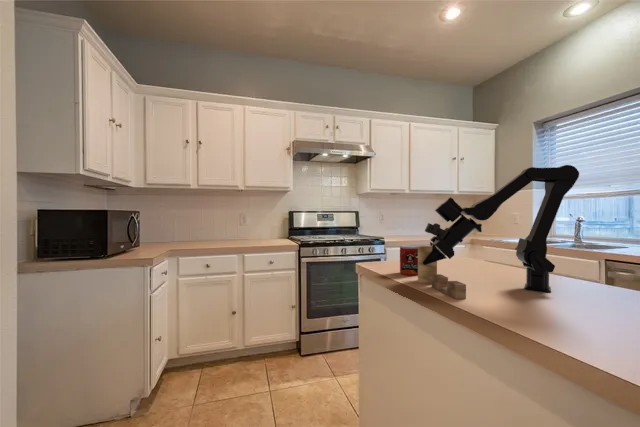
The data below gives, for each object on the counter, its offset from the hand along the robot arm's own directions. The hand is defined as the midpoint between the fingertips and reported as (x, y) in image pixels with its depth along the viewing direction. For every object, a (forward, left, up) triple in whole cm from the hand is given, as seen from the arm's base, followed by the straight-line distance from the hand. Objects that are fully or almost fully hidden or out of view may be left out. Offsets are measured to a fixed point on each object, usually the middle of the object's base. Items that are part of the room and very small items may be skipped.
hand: (423, 262), depth 100 cm
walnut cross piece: (+9, +10, -7) cm, 15 cm away
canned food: (-10, -8, -7) cm, 14 cm away
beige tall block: (-1, +1, -7) cm, 7 cm away
